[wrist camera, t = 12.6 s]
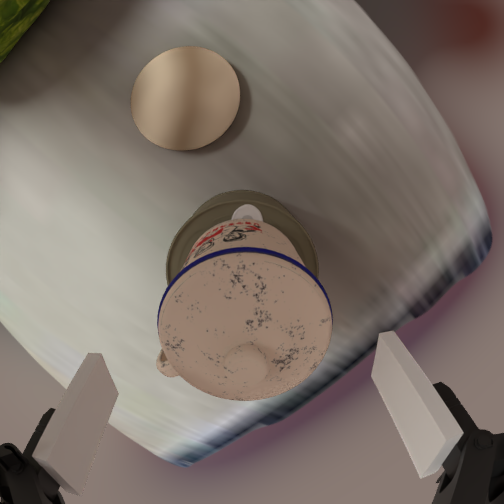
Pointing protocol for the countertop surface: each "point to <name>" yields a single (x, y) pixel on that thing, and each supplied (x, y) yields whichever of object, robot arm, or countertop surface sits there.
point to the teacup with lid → (243, 314)
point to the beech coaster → (185, 98)
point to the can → (239, 207)
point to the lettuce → (17, 21)
